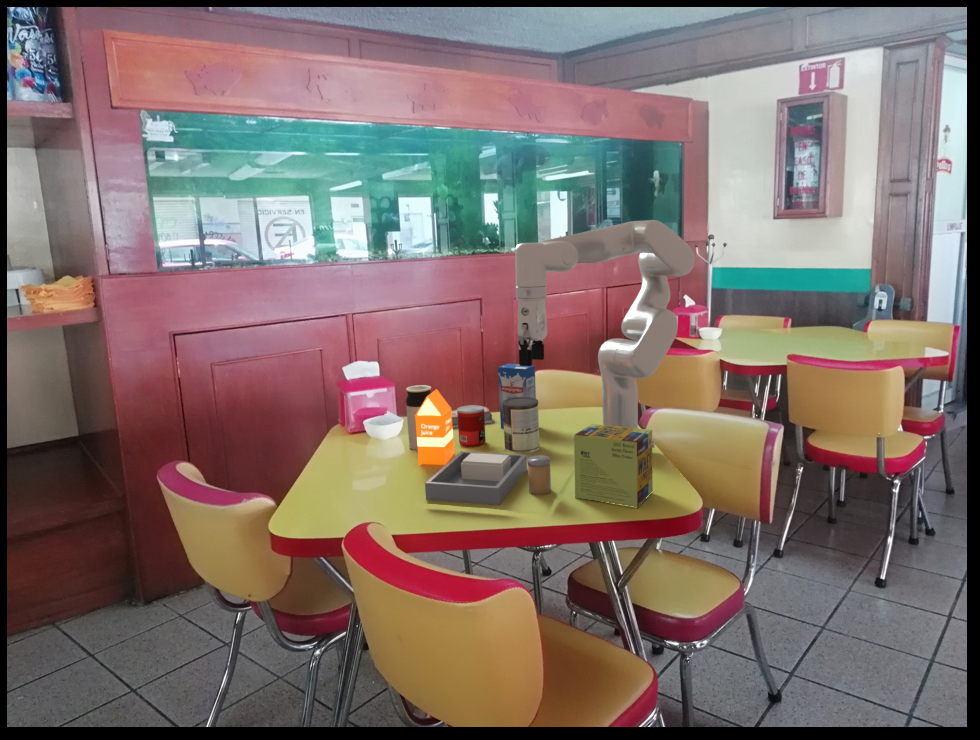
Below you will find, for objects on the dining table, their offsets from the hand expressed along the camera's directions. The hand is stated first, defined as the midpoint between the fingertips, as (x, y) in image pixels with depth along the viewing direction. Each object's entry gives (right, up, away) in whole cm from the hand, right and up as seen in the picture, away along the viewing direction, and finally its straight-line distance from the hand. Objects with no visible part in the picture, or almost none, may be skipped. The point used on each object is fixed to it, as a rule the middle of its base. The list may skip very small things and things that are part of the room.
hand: (531, 362), depth 172 cm
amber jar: (+1, -32, -9) cm, 33 cm away
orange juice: (-25, -28, +19) cm, 42 cm away
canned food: (-16, -24, +34) cm, 45 cm away
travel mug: (-31, -25, +34) cm, 52 cm away
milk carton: (-1, -20, +49) cm, 53 cm away
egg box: (-11, -29, +3) cm, 31 cm away
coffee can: (-1, -25, +27) cm, 37 cm away
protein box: (+18, -31, -12) cm, 38 cm away
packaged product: (-19, -20, +57) cm, 64 cm away
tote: (-13, -31, -2) cm, 34 cm away
